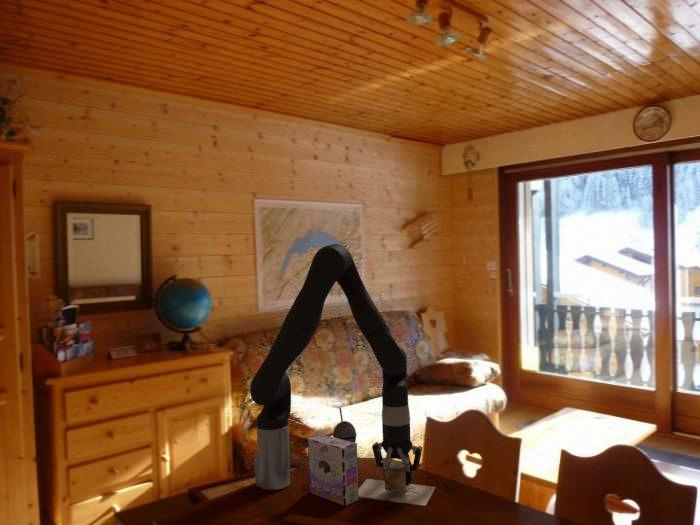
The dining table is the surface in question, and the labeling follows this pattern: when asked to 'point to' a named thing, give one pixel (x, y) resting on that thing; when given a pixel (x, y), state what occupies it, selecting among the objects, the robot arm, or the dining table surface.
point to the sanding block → (395, 477)
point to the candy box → (333, 469)
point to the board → (396, 492)
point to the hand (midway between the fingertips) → (398, 482)
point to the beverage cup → (345, 430)
